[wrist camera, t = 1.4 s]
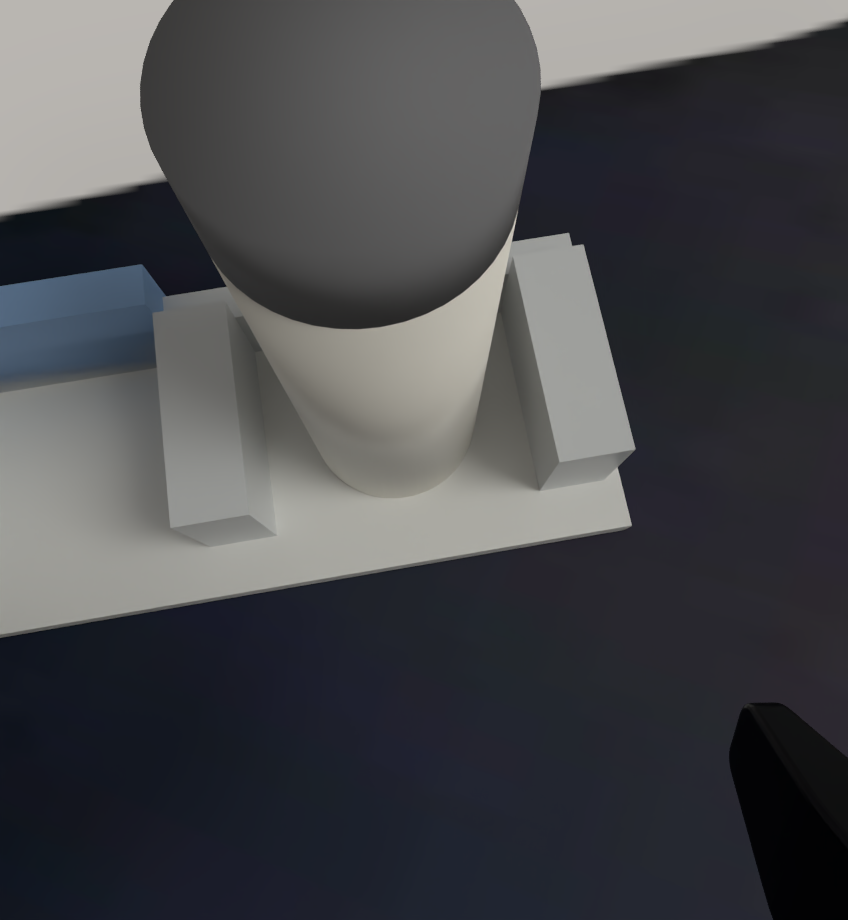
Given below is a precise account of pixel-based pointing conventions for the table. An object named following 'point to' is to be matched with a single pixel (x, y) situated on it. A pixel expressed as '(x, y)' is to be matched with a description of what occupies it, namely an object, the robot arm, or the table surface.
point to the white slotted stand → (271, 448)
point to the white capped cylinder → (355, 203)
